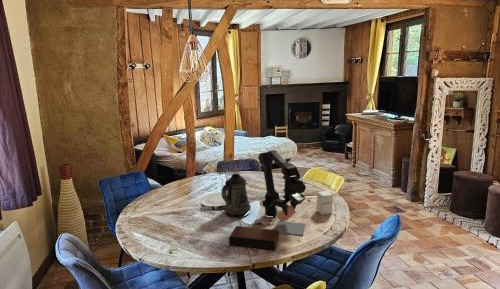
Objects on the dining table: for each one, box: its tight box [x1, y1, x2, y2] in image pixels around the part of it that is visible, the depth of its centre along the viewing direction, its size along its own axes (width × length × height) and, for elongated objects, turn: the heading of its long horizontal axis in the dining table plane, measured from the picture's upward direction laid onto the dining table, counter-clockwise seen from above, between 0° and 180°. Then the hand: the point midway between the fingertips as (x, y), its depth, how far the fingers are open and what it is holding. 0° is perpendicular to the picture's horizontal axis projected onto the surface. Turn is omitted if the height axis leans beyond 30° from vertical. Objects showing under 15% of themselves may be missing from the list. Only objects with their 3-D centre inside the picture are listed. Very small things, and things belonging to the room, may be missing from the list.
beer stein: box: [220, 173, 252, 219], centre depth 207 cm, size 16×19×25 cm
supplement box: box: [316, 190, 334, 216], centre depth 209 cm, size 7×7×13 cm
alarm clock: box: [228, 225, 280, 252], centre depth 173 cm, size 24×12×6 cm, turn 76°
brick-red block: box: [276, 204, 297, 222], centre depth 190 cm, size 5×5×10 cm
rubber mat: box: [274, 220, 306, 237], centre depth 189 cm, size 16×14×1 cm
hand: (289, 214), depth 188 cm, fingers closed on brick-red block, 5 cm apart
